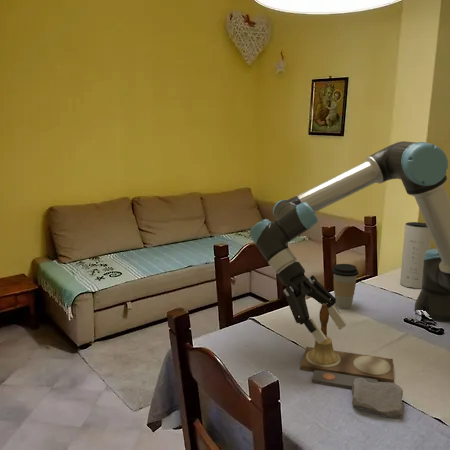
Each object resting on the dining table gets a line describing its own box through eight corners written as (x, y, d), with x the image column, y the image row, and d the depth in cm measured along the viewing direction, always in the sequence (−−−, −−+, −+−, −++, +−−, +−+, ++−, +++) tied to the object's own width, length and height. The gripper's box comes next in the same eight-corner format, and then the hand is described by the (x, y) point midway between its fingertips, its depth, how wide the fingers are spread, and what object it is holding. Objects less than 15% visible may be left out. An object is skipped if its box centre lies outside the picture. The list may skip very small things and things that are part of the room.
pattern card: (377, 382, 116) (377, 378, 116) (377, 393, 111) (377, 389, 111) (314, 372, 121) (314, 369, 121) (312, 382, 116) (312, 378, 116)
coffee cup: (354, 301, 169) (356, 263, 166) (358, 311, 160) (361, 271, 157) (328, 300, 170) (330, 262, 167) (332, 310, 161) (333, 270, 158)
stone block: (405, 427, 102) (401, 395, 111) (406, 411, 100) (402, 379, 109) (350, 420, 105) (351, 389, 114) (350, 404, 103) (351, 374, 112)
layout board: (392, 362, 125) (392, 357, 125) (393, 383, 115) (393, 378, 115) (306, 350, 133) (306, 345, 133) (300, 369, 123) (300, 364, 123)
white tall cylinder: (430, 284, 186) (436, 222, 180) (422, 291, 178) (428, 227, 173) (405, 278, 193) (409, 219, 187) (396, 285, 185) (400, 223, 180)
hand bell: (315, 366, 121) (317, 311, 118) (303, 351, 129) (305, 299, 126) (343, 363, 123) (346, 308, 119) (330, 348, 131) (333, 297, 127)
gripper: (301, 265, 140) (344, 326, 133) (254, 285, 123) (301, 355, 116) (316, 252, 135) (362, 314, 128) (270, 270, 119) (320, 343, 112)
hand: (333, 334), depth 122 cm, fingers open, 10 cm apart
